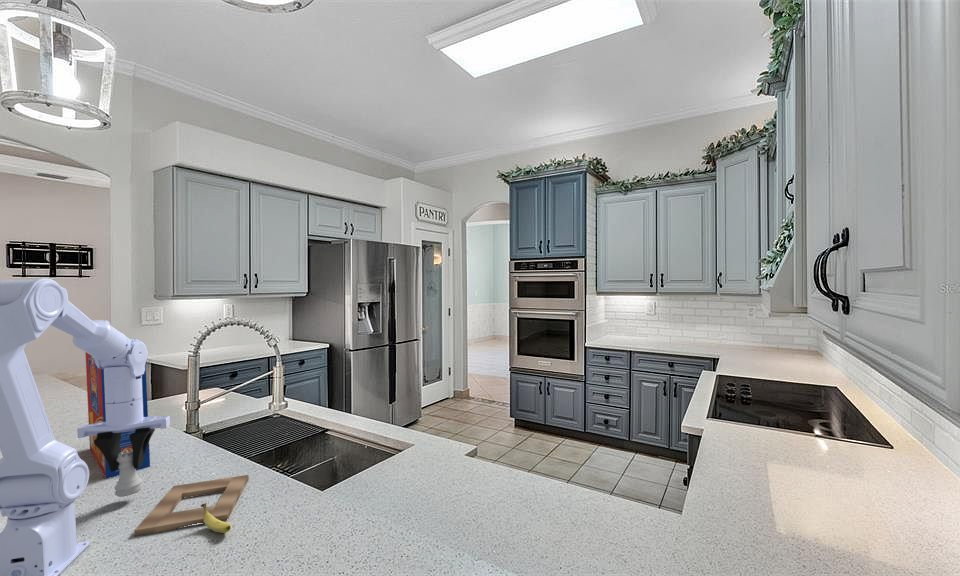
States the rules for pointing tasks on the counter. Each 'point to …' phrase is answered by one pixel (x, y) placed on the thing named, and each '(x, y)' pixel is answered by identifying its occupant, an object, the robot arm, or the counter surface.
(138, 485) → the rook chess piece
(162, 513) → the walnut socket board
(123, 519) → the counter surface
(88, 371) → the blue and red box
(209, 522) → the banana
